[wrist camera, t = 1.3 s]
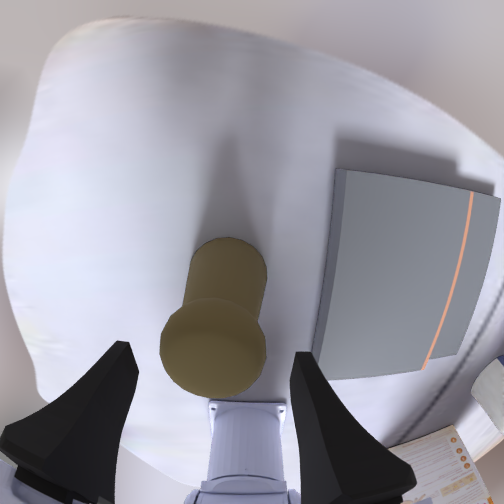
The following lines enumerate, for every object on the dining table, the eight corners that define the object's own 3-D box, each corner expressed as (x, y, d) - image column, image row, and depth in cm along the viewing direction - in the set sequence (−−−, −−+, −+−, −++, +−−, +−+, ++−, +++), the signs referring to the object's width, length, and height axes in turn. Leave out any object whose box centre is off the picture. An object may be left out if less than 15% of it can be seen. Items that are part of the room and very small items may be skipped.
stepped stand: (451, 348, 25) (462, 361, 23) (309, 362, 25) (314, 381, 22) (493, 196, 20) (510, 201, 17) (335, 168, 19) (346, 170, 17)
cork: (174, 262, 22) (116, 348, 11) (240, 222, 21) (226, 290, 10) (217, 321, 24) (197, 426, 13) (281, 287, 22) (300, 388, 12)
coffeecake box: (363, 471, 34) (386, 566, 15) (370, 451, 31) (401, 560, 13) (440, 445, 33) (475, 525, 14) (453, 422, 31) (498, 509, 12)
